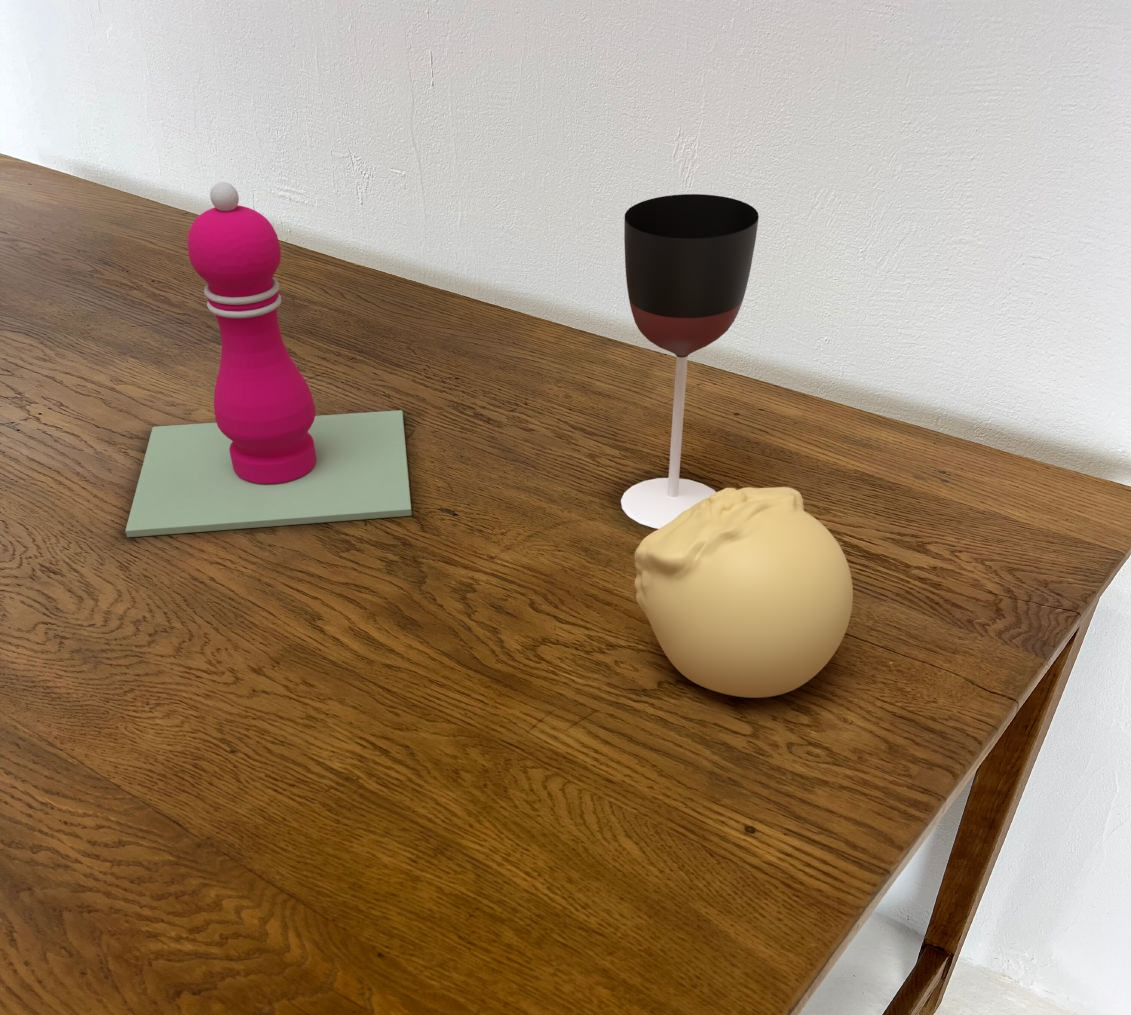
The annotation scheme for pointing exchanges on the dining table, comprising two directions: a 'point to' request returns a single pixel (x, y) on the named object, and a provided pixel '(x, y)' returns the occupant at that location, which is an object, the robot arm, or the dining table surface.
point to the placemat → (225, 501)
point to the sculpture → (745, 591)
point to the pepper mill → (252, 344)
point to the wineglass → (683, 308)
